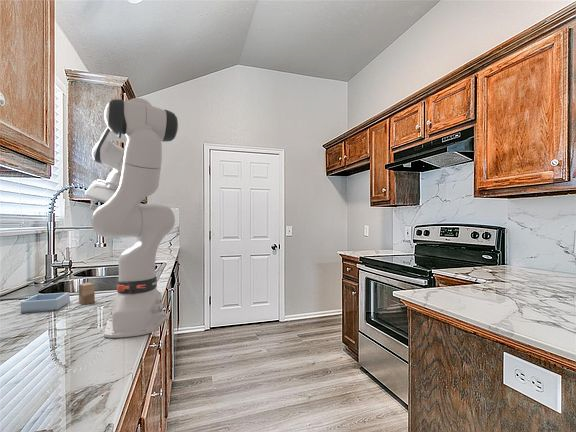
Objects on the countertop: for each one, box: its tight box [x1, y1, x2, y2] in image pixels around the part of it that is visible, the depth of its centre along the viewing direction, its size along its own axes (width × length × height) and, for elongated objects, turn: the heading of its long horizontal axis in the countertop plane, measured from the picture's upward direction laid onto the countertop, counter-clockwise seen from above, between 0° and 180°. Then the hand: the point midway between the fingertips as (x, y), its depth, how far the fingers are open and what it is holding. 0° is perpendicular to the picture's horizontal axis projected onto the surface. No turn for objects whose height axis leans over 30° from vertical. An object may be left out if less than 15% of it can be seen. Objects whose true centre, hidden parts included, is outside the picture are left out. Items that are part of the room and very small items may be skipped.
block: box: [78, 282, 96, 305], centre depth 133 cm, size 4×4×8 cm
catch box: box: [20, 292, 71, 314], centre depth 127 cm, size 12×12×4 cm
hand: (102, 212), depth 139 cm, fingers open, 8 cm apart
